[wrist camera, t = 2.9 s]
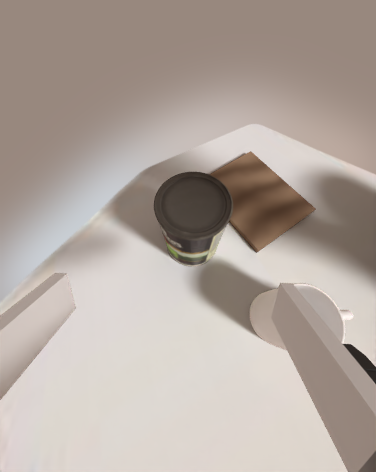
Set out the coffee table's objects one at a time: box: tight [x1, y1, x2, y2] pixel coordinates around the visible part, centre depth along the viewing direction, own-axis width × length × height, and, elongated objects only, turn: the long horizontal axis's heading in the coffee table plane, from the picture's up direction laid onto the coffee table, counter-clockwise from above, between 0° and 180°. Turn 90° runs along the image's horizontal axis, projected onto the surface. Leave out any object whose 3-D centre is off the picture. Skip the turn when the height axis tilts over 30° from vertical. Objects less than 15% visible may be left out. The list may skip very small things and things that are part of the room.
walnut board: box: [209, 151, 316, 253], centre depth 40 cm, size 20×16×1 cm
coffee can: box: [154, 172, 233, 266], centre depth 30 cm, size 10×10×14 cm
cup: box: [250, 283, 353, 350], centre depth 26 cm, size 8×12×10 cm
